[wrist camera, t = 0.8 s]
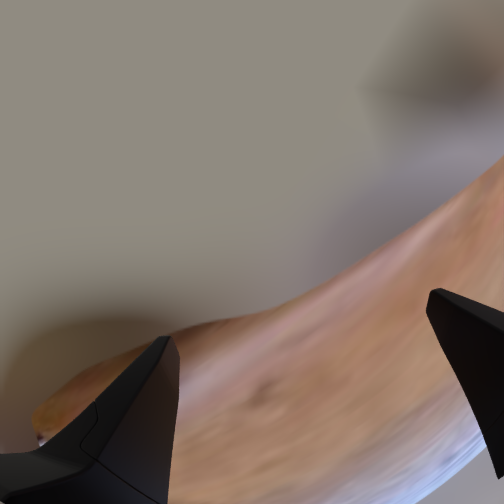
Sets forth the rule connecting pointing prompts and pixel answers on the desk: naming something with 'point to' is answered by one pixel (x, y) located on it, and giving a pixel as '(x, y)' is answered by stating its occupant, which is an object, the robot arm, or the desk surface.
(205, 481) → the desk surface
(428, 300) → the robot arm
